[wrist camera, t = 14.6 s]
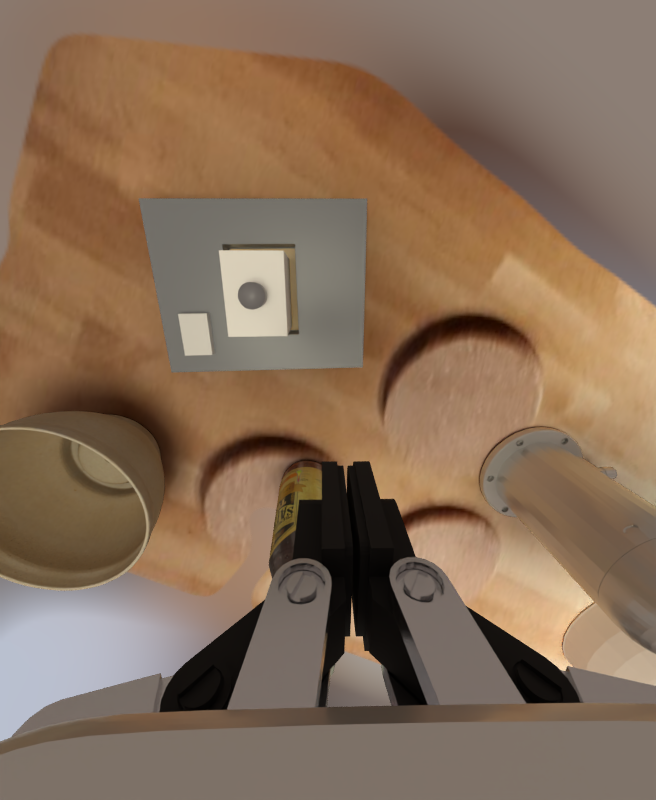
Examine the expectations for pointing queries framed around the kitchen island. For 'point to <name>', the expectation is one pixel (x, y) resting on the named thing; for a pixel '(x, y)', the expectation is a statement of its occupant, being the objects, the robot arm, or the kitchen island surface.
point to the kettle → (606, 648)
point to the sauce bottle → (293, 509)
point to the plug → (256, 292)
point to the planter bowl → (76, 498)
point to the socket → (259, 230)
